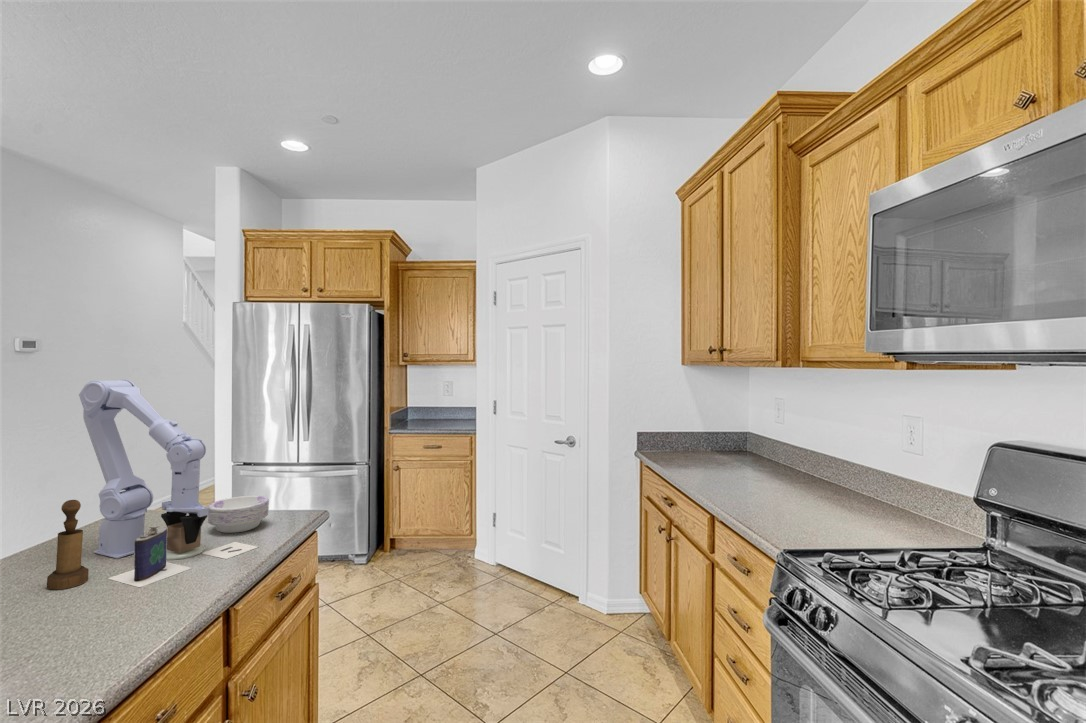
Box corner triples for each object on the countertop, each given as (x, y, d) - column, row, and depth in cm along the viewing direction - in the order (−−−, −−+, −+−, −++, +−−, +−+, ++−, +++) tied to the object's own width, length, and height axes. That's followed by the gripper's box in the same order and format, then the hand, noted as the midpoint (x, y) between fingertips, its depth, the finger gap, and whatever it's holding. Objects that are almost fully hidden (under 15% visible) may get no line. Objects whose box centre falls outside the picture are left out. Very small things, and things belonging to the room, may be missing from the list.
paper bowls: (204, 526, 144) (205, 499, 145) (262, 517, 154) (263, 492, 154) (210, 541, 133) (211, 511, 133) (272, 530, 142) (273, 503, 143)
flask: (157, 565, 116) (159, 519, 116) (170, 564, 116) (172, 519, 116) (130, 582, 107) (132, 533, 107) (144, 581, 107) (146, 532, 107)
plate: (152, 556, 121) (152, 554, 121) (189, 544, 130) (189, 542, 130) (176, 562, 118) (176, 559, 118) (212, 549, 127) (212, 547, 127)
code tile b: (201, 553, 124) (201, 553, 124) (234, 542, 132) (234, 541, 132) (226, 559, 121) (226, 558, 121) (258, 547, 129) (258, 546, 129)
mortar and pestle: (95, 580, 108) (98, 498, 108) (58, 592, 101) (62, 505, 102) (76, 575, 110) (80, 495, 110) (39, 587, 104) (42, 502, 104)
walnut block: (166, 549, 123) (167, 525, 123) (187, 543, 127) (188, 520, 127) (179, 552, 121) (180, 528, 121) (200, 546, 125) (201, 522, 126)
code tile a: (107, 578, 108) (107, 578, 108) (161, 561, 119) (161, 560, 119) (139, 587, 104) (139, 587, 104) (192, 568, 115) (192, 567, 115)
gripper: (149, 488, 123) (147, 542, 123) (188, 494, 118) (186, 550, 118) (178, 482, 130) (176, 533, 129) (217, 488, 125) (215, 541, 124)
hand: (183, 541), depth 124 cm, fingers closed on walnut block, 5 cm apart
